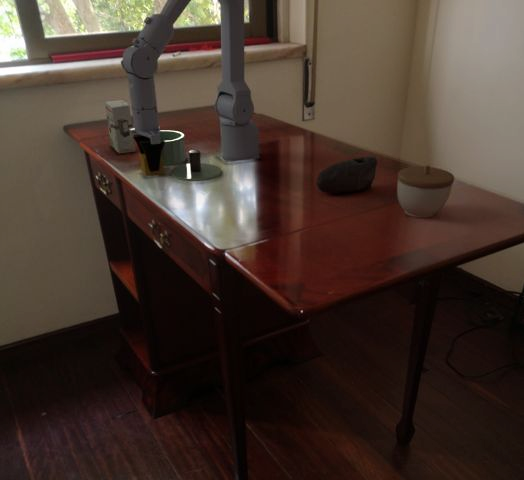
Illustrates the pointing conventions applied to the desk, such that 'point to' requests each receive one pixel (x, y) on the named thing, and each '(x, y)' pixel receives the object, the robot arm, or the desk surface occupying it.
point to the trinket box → (423, 190)
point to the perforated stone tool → (348, 176)
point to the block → (146, 169)
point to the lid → (195, 169)
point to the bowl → (172, 147)
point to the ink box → (120, 126)
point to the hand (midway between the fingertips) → (151, 167)
